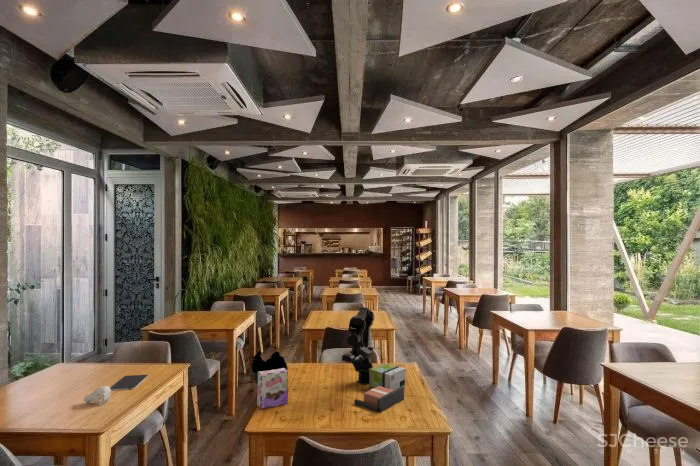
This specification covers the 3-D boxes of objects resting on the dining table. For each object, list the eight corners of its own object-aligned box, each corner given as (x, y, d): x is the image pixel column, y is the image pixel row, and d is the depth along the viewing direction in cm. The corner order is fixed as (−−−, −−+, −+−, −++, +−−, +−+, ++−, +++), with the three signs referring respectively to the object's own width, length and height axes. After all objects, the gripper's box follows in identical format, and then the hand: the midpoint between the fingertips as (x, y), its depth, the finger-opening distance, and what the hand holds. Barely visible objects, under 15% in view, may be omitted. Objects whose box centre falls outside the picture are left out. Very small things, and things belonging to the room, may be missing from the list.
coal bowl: (295, 387, 216) (295, 352, 217) (263, 397, 202) (264, 360, 203) (274, 378, 231) (274, 346, 231) (243, 387, 216) (243, 352, 217)
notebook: (125, 378, 232) (108, 391, 211) (125, 375, 232) (108, 388, 211) (148, 377, 234) (134, 390, 213) (148, 374, 234) (134, 387, 213)
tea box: (390, 374, 208) (368, 368, 217) (390, 393, 207) (368, 387, 217) (406, 367, 219) (384, 362, 229) (406, 385, 219) (384, 380, 228)
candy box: (260, 409, 187) (260, 374, 188) (257, 405, 192) (257, 371, 193) (288, 404, 193) (288, 370, 194) (284, 400, 199) (284, 367, 199)
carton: (363, 403, 195) (363, 392, 195) (379, 395, 205) (379, 385, 205) (380, 408, 189) (380, 398, 189) (395, 400, 199) (395, 390, 199)
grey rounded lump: (104, 387, 191) (79, 390, 191) (106, 405, 191) (80, 408, 190) (112, 383, 197) (87, 385, 197) (113, 400, 197) (89, 403, 197)
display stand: (354, 404, 194) (354, 391, 194) (379, 391, 210) (379, 380, 210) (380, 412, 184) (380, 399, 184) (404, 399, 200) (404, 387, 200)
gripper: (358, 347, 195) (358, 379, 195) (380, 340, 209) (380, 370, 209) (341, 343, 202) (341, 374, 202) (363, 337, 216) (363, 365, 216)
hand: (357, 371), depth 207 cm, fingers closed
